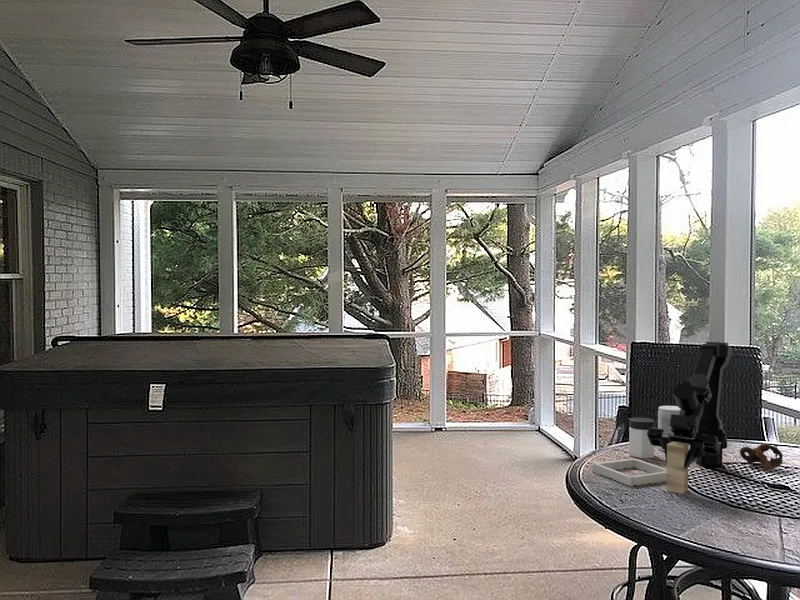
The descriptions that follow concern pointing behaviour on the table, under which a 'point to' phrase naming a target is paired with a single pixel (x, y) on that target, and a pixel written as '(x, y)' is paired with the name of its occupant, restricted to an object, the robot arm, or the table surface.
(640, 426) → the jar
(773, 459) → the brown looped piece
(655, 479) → the tray
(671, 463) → the tan square block
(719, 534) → the table surface
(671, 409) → the supplement tub
